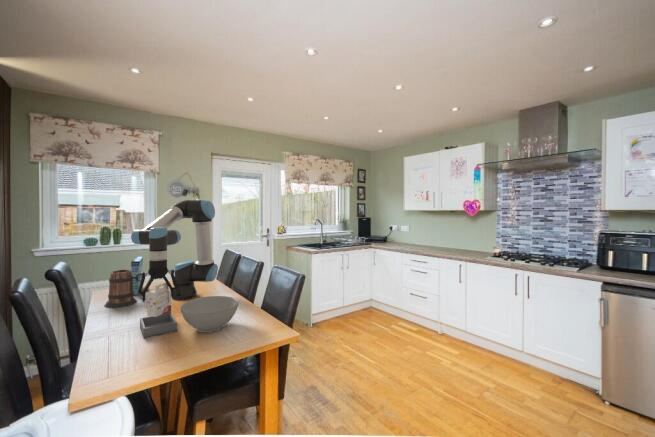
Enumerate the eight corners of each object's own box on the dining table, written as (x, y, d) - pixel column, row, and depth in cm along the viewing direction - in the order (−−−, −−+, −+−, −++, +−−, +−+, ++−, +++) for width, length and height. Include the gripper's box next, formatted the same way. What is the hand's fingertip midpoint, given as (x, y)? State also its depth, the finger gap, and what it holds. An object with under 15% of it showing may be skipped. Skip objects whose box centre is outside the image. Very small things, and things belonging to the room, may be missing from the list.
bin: (170, 321, 153) (170, 312, 153) (176, 331, 141) (176, 322, 141) (140, 327, 145) (140, 318, 145) (143, 338, 133) (143, 328, 133)
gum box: (135, 288, 214) (134, 257, 213) (143, 287, 216) (143, 256, 216) (130, 295, 197) (130, 261, 196) (139, 294, 199) (139, 261, 198)
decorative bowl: (181, 321, 153) (182, 298, 153) (235, 315, 164) (235, 293, 163) (178, 343, 128) (178, 316, 128) (241, 334, 139) (241, 309, 139)
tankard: (101, 309, 168) (101, 275, 168) (106, 301, 183) (106, 269, 182) (149, 304, 180) (149, 271, 179) (150, 296, 195) (150, 266, 194)
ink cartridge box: (160, 310, 147) (160, 281, 147) (168, 311, 146) (169, 281, 146) (146, 316, 139) (146, 285, 139) (155, 317, 138) (155, 286, 138)
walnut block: (165, 316, 160) (165, 302, 159) (171, 320, 155) (171, 305, 155) (155, 319, 156) (155, 304, 155) (161, 322, 151) (161, 307, 151)
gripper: (131, 262, 132) (131, 312, 133) (184, 258, 146) (184, 303, 146) (130, 260, 138) (130, 307, 139) (181, 256, 152) (181, 299, 152)
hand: (158, 305), depth 143 cm, fingers closed on ink cartridge box, 9 cm apart
